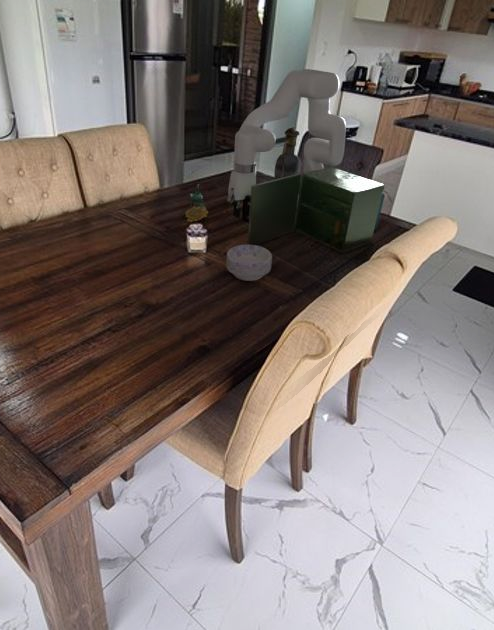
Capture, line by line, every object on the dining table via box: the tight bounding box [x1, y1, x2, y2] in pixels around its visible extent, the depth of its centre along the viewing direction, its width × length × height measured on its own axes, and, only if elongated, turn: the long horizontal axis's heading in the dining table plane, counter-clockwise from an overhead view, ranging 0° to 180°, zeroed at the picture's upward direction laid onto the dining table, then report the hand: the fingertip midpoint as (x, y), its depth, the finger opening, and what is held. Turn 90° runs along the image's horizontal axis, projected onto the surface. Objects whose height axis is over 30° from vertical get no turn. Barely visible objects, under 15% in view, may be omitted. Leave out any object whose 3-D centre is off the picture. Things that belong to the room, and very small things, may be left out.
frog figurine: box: [185, 183, 209, 223], centre depth 194 cm, size 10×18×15 cm, turn 161°
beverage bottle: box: [374, 188, 386, 230], centre depth 191 cm, size 6×7×20 cm
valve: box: [334, 220, 342, 234], centre depth 187 cm, size 6×6×8 cm
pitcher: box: [273, 126, 302, 180], centre depth 228 cm, size 11×19×30 cm, turn 159°
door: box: [241, 173, 302, 246], centre depth 178 cm, size 8×26×24 cm, turn 134°
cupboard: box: [293, 166, 385, 255], centre depth 181 cm, size 18×26×24 cm
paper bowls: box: [225, 244, 273, 282], centre depth 154 cm, size 15×15×8 cm
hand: (241, 215), depth 175 cm, fingers open, 3 cm apart
